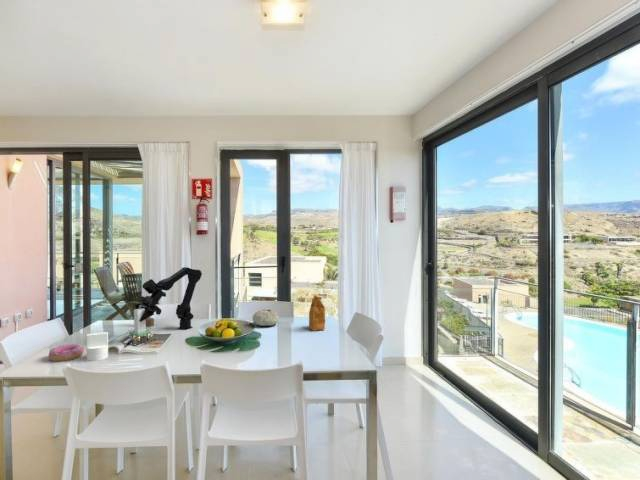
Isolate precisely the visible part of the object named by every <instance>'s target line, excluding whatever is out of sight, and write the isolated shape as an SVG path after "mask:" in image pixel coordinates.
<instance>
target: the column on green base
mask: <svg viewBox="0 0 640 480" xmlns="http://www.w3.org/2000/svg"><path fill="white" fill-rule="evenodd" d="M144 312H145V308H140V309H135V308H134V309H133V323H134V325H133V327H134V330H133V331H130V332H128V335H129V336H130V335H133V336H135V337H137V336H141V335H143V336H145V335H147V334H148V333H152V331H151V330H148V329H146V327H147V326H146V319H145V320H143V321H141V322H140V321H139V320H140V318H141V317H142V315H143V314H144Z"/></svg>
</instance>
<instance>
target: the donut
mask: <svg viewBox="0 0 640 480" xmlns="http://www.w3.org/2000/svg"><path fill="white" fill-rule="evenodd" d="M84 351H85V350H84V347H83V345H81V344H77V343H75V344H74V343H72V344H64V345H59V346H56V347H52V348H51V349H50V350H49V353H48V358H49V359H50V360H51V361H53V362H67V361H72V360H75V359H78V358H80V357H82V355H83V354H84Z"/></svg>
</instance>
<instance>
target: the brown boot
mask: <svg viewBox="0 0 640 480" xmlns="http://www.w3.org/2000/svg"><path fill="white" fill-rule="evenodd" d="M137 303H141V304H142V302H137ZM142 305H143V304H142ZM143 306H144V305H143ZM154 325H155V319H154V318H153V317H151V316H150V317H148V318H147V319H146V327H152V326H154Z"/></svg>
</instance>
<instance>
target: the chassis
mask: <svg viewBox="0 0 640 480" xmlns="http://www.w3.org/2000/svg"><path fill="white" fill-rule="evenodd" d="M150 335H151V334H150V333H148V334H146V335H141V336H136V337H137V339H136V340H134V341H132V342H130V343H132V344H136V345H139V344H142V343H145V342H149V341H152V340H156V341H157V338H156V337H153V336H151V337H150ZM133 338H134V335H130V334H129V339H133ZM149 343H150V342H149Z"/></svg>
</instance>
